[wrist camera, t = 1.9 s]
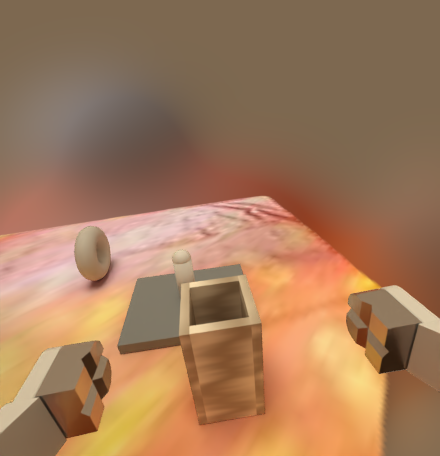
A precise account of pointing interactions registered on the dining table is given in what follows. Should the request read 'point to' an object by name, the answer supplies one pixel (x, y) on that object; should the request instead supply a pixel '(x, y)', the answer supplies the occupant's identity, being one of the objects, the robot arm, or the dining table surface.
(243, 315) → the sleeve
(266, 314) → the dining table surface
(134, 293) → the post board
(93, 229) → the donut
